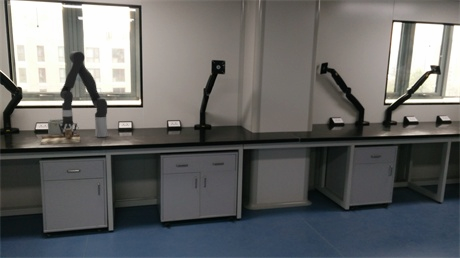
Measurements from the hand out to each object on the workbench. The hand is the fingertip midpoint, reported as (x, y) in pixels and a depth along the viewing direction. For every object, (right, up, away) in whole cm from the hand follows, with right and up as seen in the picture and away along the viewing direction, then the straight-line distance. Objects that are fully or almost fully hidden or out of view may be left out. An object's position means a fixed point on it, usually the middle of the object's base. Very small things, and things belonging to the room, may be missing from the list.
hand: (68, 135), depth 295 cm
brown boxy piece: (+1, -1, -1) cm, 2 cm away
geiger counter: (-16, +1, +27) cm, 31 cm away
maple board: (-5, -4, -3) cm, 7 cm away
